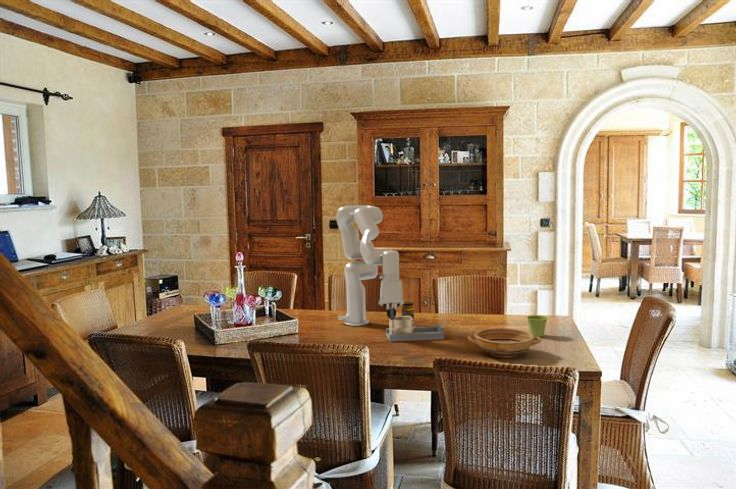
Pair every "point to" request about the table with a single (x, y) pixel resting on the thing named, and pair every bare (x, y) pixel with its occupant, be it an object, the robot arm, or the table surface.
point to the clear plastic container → (400, 324)
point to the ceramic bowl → (504, 341)
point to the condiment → (408, 310)
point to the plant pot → (537, 325)
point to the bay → (419, 334)
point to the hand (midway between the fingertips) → (391, 317)
